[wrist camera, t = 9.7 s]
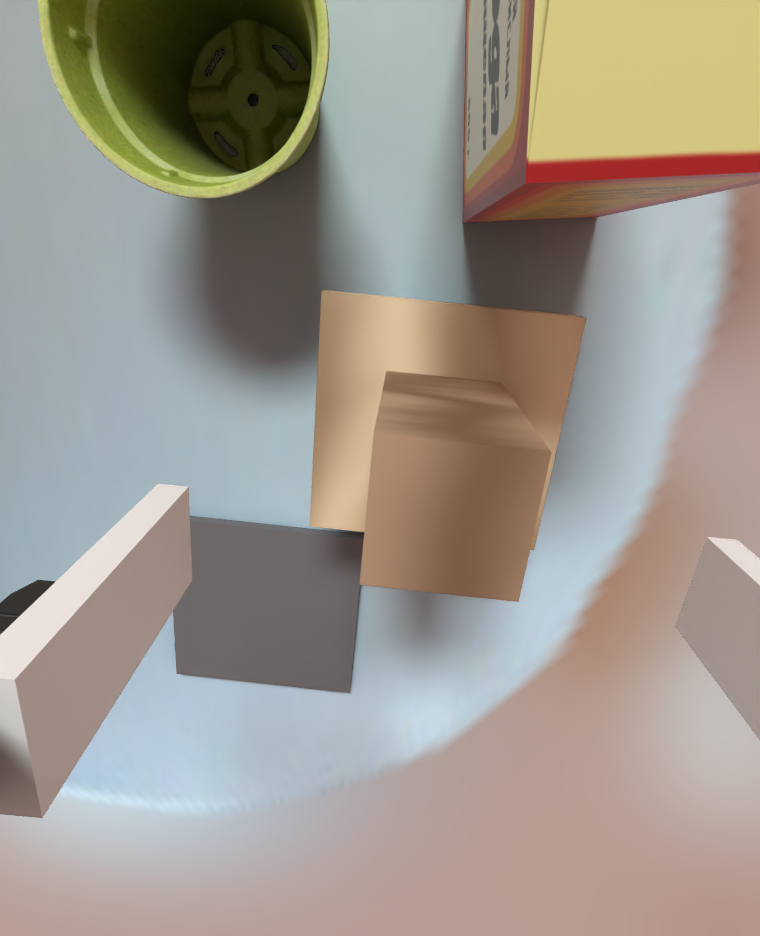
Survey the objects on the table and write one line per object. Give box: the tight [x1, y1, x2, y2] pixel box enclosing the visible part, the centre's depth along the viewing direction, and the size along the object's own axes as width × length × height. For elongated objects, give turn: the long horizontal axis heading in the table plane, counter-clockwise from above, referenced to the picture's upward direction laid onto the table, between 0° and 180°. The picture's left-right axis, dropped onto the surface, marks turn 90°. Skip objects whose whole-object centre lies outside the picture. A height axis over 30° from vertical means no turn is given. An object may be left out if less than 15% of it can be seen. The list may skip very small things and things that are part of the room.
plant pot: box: [38, 0, 329, 199], centre depth 21 cm, size 9×9×9 cm
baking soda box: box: [462, 0, 760, 223], centre depth 17 cm, size 10×6×16 cm
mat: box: [173, 516, 364, 693], centre depth 35 cm, size 12×12×1 cm
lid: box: [310, 290, 586, 602], centre depth 21 cm, size 11×11×10 cm
